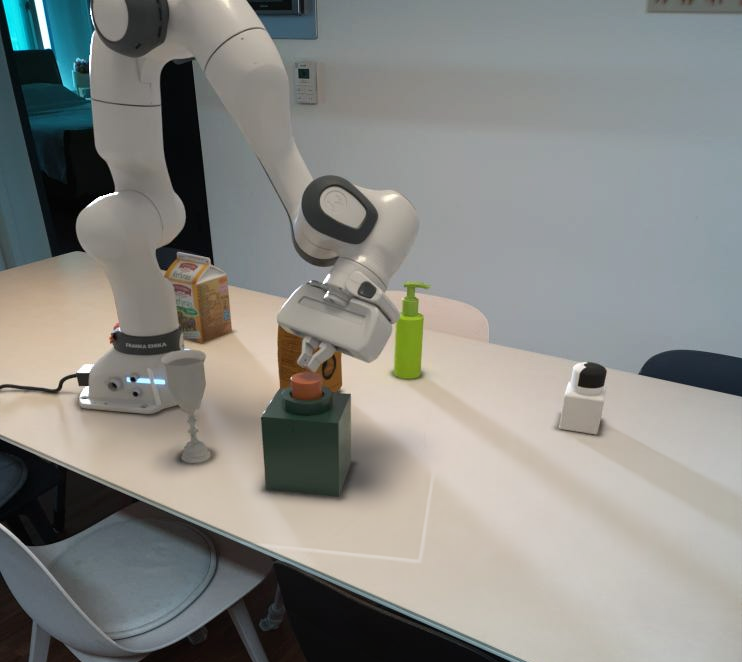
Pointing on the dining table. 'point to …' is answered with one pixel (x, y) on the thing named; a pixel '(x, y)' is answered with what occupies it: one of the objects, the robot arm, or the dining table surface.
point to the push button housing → (307, 442)
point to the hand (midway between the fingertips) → (305, 367)
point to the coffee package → (288, 367)
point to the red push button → (306, 386)
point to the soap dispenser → (409, 335)
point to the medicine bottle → (584, 398)
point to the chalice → (188, 394)
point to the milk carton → (200, 297)
